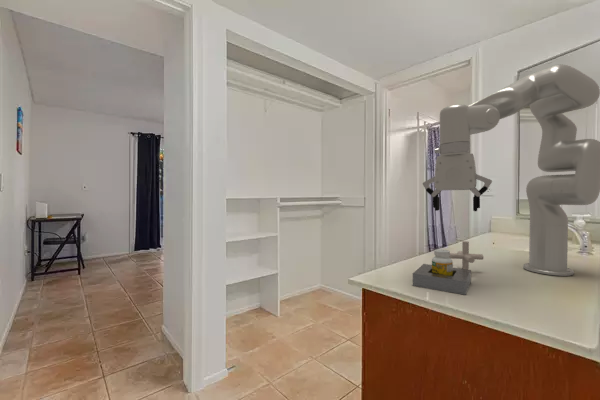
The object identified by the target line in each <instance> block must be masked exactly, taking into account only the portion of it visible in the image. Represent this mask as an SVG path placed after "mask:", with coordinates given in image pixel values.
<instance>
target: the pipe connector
mask: <svg viewBox="0 0 600 400" xmlns="http://www.w3.org/2000/svg"><path fill="white" fill-rule="evenodd" d="M461 246H462V250H459V251H457V253H455V252H450V256H449V258H451V259H452V260H453V259H454V260H457V259H458V260H462V264H461V267H462V268H461V269H466V270H470V269H469V268H470V267H469V266H470V265H469V264H473V263H475V261H476V260H484V255H483V253H469V251H470V247H469V246H470V242H469V241H467V240H462V245H461Z"/></svg>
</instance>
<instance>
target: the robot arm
mask: <svg viewBox="0 0 600 400" xmlns="http://www.w3.org/2000/svg"><path fill="white" fill-rule="evenodd" d="M599 97H600V87H599V84H598V83H597V82H596V80H594V79H593V78H592V77H590V76H589V75H587V74H585V73H583V72H582V71H580V70H578V69H577V68H575V67H572V66H570V65H568V64H567V65H566V64H555V65H552V66H549V67H546V68H544V69H541V70H538V71H536V72H533V73H530V74H527V75H525V76H523V77H521V78H519V79H517V80H516V81H514V82H513V83H510V84H509V85H506V86H505V87H504V88H501V89H499V90H498V91H494V92H493V93H491V94H490V95H489V94H488V95H487V96H485V97H483V98H481V99H479V100H477V101H475V102H474V103H471V104H469V105H467V104H452V105H449V106H448V105H447V106H446V107H444V108H442V109H441V110H440V112H439V146H438V147H437V148H434V154H439V155H438V156H437V157H436V160H435V161H436V162H435V169H434V176H433V177H431V178H429V179H426V181H424V182H422V185H423V187H424V189H425V191H426V192H427V193H428V195H430V196H431V197H432V208H434V212H435V211H437V212H438V211H440V210H441V208H440V205H441V203H440V200H441V199H440V197H439V194H440V193H442V191H469V190H470V192H471V193H473V197H472V206H473V208H472V211H473V212H478V209H480V208H481V196H482V195H483V194H484V193H485V192H487V190H488V189H489V187H490V186H491V184H492V182H493V180H492V179H490V178H487V177H485V176H483V175H480V174H477V169H476V162H475V157H474V154H473V153H471V135H475V134H480V133H485V132H489V131H491V130H492V129H494V128H495V127H496V126H497V125H498V123H500V120H502V119H505V118H507V117H510V116H513V115H515V114H517V113H519V112H520V111H522V110H524V109H525V108H527V107H528V106H529V109H530V112H531V114H532V115H533V117H534V118H535V120H537V122H538V124H539V126H540V128H541V141H540V145H539V149H538V150H539V151H538V155H537V166H538V168H539V170H540V171H542V172H545V173H565V172H574V173H572V174H571V173H569V174H551V175H550V174H548V175H546V174H544V175H539V176H535V177H534V178H532V179H530V180H529V181H528V182H527V185H526V188H525V189H526V190H525V191H526V198H527V201H528V207H529V248H528V249H529V252H528V254H529V257H528V262H526V263H523V266H522V267H523V269H525V270H527V271H529V272H532V273H535V274H542V275H546V276H547V275H549V276H557V277H559V276H560V277H568V276H569V277H570V276H573V275H574V274H575V271H574V269H572V268H569V267H568V250H569V249H568V246H569V245H568V242H569V240H568V239H569V238H568V237H569V235H568V234H569V218H568V215H567V213H566V212H565V210H564V209H563V208H562V207H561V206H562V205H563V206H564V205H565V206H587V205H591V204H594V203H595V202H596V201H597V199H598V198H599V196H600V141H599V140H597V139H596V138H595V139H594V138H582V139H577V131H578V128H577V127H578V126H576V124H575V122H573V120H571V119H570V118H568V117H567V116H566V115H564V113H568V112H572V111H577V110H582V109H586V108H589V107H591V106H593V105H594V104H596V102H597V101H598V100H599ZM477 180H478V181H480V182H482V183H483V186H482V187H481V188H480V189H477V188H476V186H477ZM433 183H434V188H435V189H432V188H431V186H430V185H431V184H433Z"/></svg>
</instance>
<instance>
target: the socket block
mask: <svg viewBox="0 0 600 400" xmlns="http://www.w3.org/2000/svg"><path fill="white" fill-rule="evenodd" d="M471 272H472V270H471V269H469V270H466V269H462V268H459V267H453V276H448V275H441V274H435V273H432V264H428V263H423V264H421V265H420V267H419V266H418V268H417V269H416V270H414V271H413V273H412V286H413V287H419V288H424V289H430V290H436V291H441V292H446V293H447V292H448V293H452V294H457V295H463V296H466V295H467V292H468V290H469V288H470V284H471V280H472V277H471V276H472V273H471Z"/></svg>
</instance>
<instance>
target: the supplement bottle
mask: <svg viewBox="0 0 600 400" xmlns="http://www.w3.org/2000/svg"><path fill="white" fill-rule="evenodd" d="M450 253H451V251H450V250H449V249H441V248H439V249H434V250H433V255H434V256H433V257H432V258H431V265H432V273H435V274H441V275H448V276H453V268H454V265H453V264H454V262H453V259H451V258H449V256H450Z"/></svg>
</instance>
